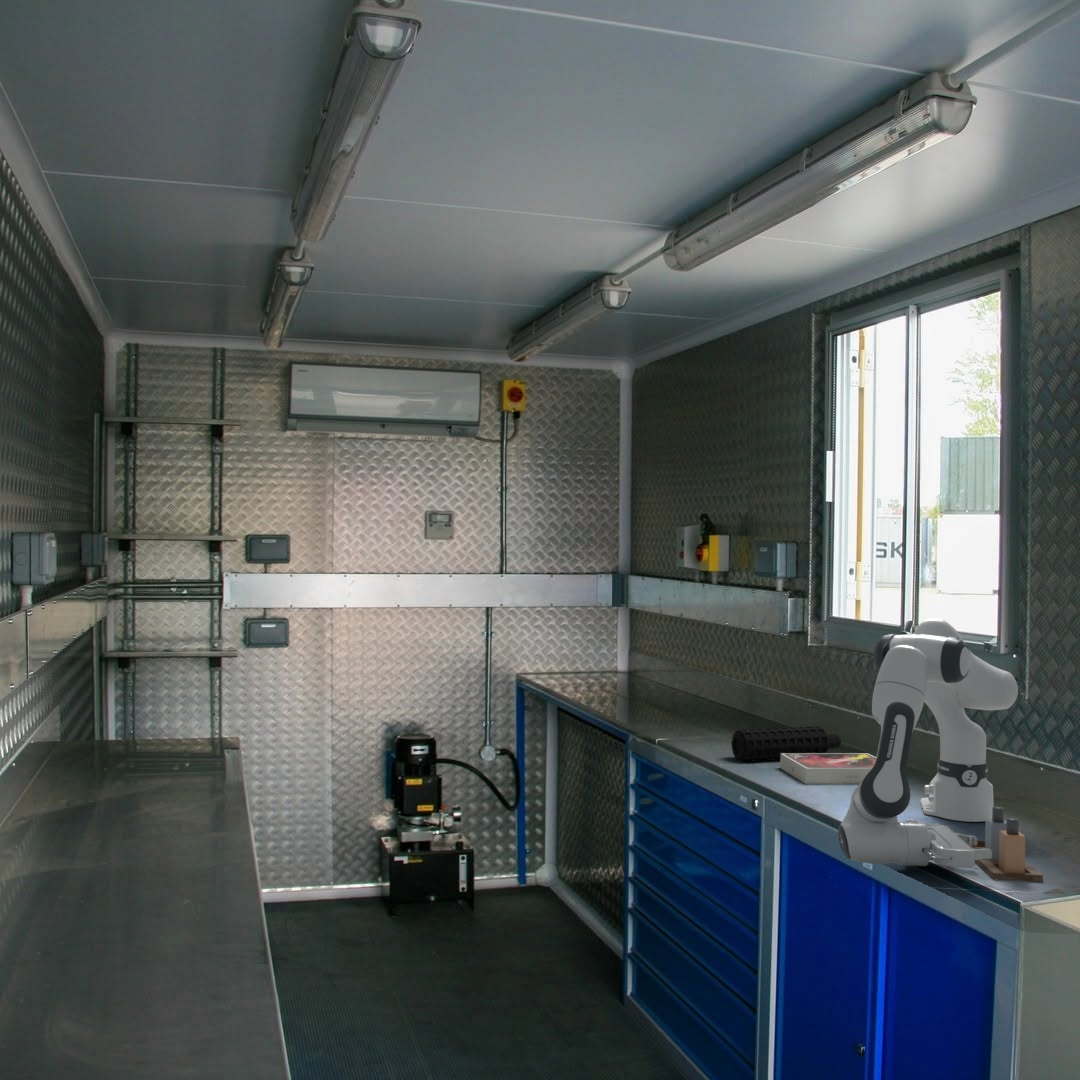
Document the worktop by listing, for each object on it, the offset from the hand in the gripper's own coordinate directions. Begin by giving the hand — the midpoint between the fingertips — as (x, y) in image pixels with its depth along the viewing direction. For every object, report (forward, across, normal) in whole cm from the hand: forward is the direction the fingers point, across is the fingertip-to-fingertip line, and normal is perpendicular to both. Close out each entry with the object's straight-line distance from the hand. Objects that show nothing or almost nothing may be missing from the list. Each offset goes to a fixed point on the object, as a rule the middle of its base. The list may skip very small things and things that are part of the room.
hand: (983, 846), depth 233 cm
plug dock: (+6, +9, +6) cm, 12 cm away
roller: (-24, +119, +7) cm, 121 cm away
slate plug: (+6, +9, +6) cm, 12 cm away
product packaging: (-12, +95, +7) cm, 96 cm away
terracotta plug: (+6, 0, +6) cm, 8 cm away
